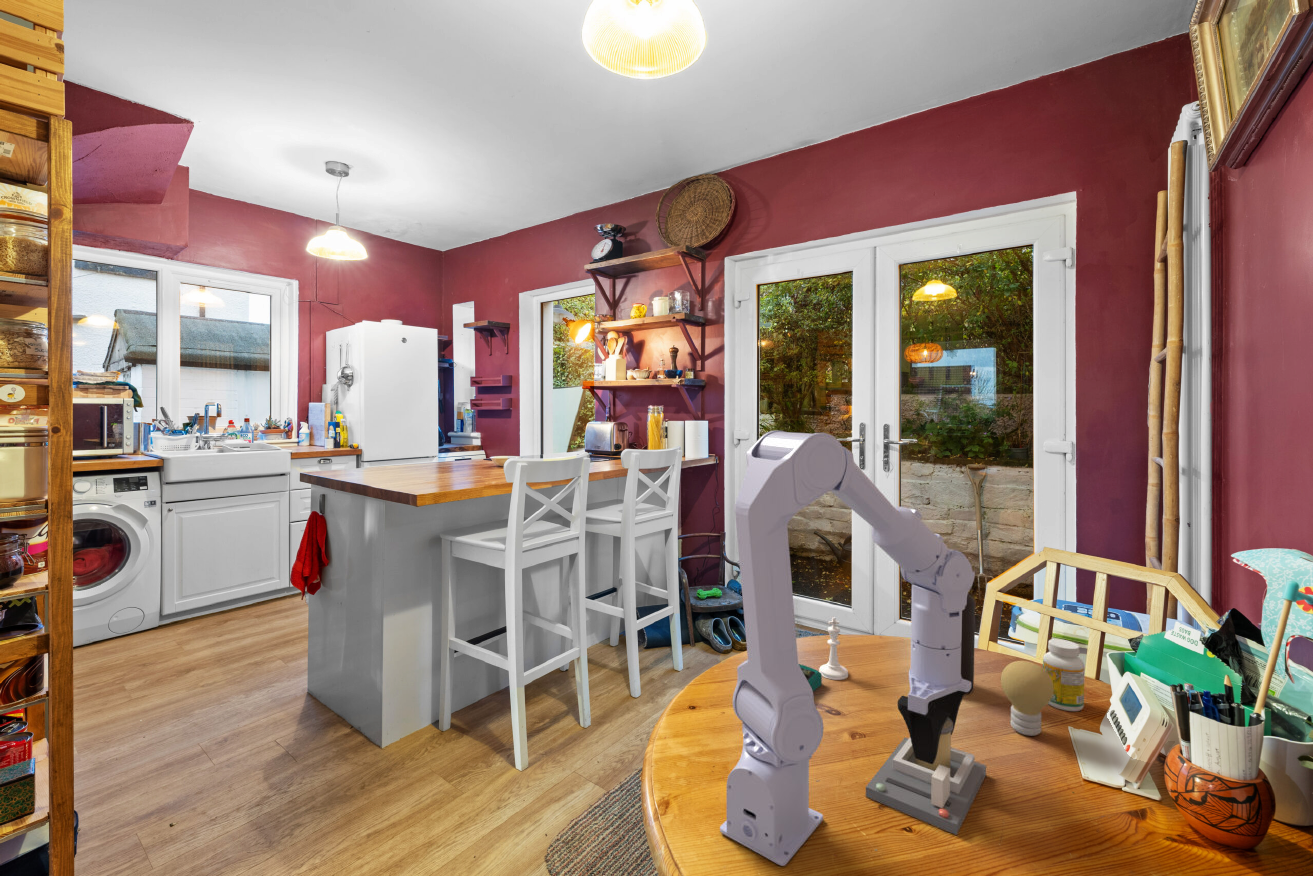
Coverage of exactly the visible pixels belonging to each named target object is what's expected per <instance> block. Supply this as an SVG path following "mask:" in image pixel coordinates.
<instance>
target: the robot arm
mask: <svg viewBox="0 0 1313 876" xmlns="http://www.w3.org/2000/svg"><path fill="white" fill-rule="evenodd" d="M745 454H746V467H747V468H746V471H745V474H744V477H743V479H742V483H741V486H740V489H739V492H738V494H737V498H736V501H735V504H734V505H735V506H734V507H735V508H734V513H735V514H734V515H735V516H734V518H735V524H736V525H735V526H736V539H737V549H738V558H739V559H738V561H739V563H738V564H739V570H740V571H739V572H740V584H741V585H740V586H741V595H742V596H741V597H742V608H743V619H744V628H745V629H744V630H745V640H746V641H745V642H746V651H747V652H746V654H747V659H746V660H744V661H743V662H741V663H740V664H739V665H738V666H737V668H736V672H737V680H736V686H735V689H734V690H733V694H732V695H733V696H732V708H733V711H734V714H735V716H736V717H737V718H738V719H739V720H740V721H741V722H742V723H741V725H742V735H743V738H742V742H743V743H742V751H741V755H740V758H739V760H738V762H737V763H736V765H735V766H734V768H733V769H732V770H731V771H730V773H728V776H727V781H726V820H725V821H724V822H723V823H722V824H721V825H720V826H719V831H720V833H721V834H722V835H724V836H726V837H728V838H730V839H732V840H734V841H735V842H737V843H739V844H741V845H742V846H744V847H746V848H749V850H752V851H754V852H755V853H757V854H759V855H761V856H763V857H764V858H766V859H768V860H770V861H771V862H773V863H775V864H777V865H779V866H782V867H783V866H786V865H787V864H788V863H789V862H790V860H791V859H792V858H793V857H794V855H795V854H796V853H797V852H798V850H799V849H800V848H801V847H802V846H803V845H804V843H805V842H806V841H807V840H808V839H809V837H810V836H811V835H813V832H814V831H815V830H816V828H817V827H819V825H820V824H821V823H822V822H823V820H824V815H823V814H822V813H821V812H818V811H817V810H814V809H812V808H810V807H809V801H810V792H809V791H810V787H809V786H810V760H811V759H812V757H813V756H814V754H815V752H816V751H817V750H818V748H819V746H820V745H821V742H822V739H823V737H824V727H825V726H824V721H823V720H824V719H823V717H822V716H821V714H820V712H819V710H818V709H817V706H816V704H815V699H814V691H813V690H812V688H811V686H810V684H809V683H808V681H807V679H806V677H805V675H804V673H803V672H802V670H801V668H800V666H799V664H800V663H799V657H798V645H797V633H796V630H797V629H796V620H795V607H794V597H793V595H794V594H793V593H794V592H793V583H792V579H793V578H792V570H791V569H792V567H791V556H790V555H791V554H790V545H789V544H790V543H789V542H790V541H789V530H788V525H789V523H790V521H791V520H792V519H793V518H794V516H796V514H797V513H798V512H800V511H801V510H802V509H805V508H807V506H810V505H811V504H812V503H814V502H816V500H818V499H820V498H821V497H823V496H825V495H826V494H827V493H830V492H831V493H832V495H834V496H835V497H837V498H838V499H839V500H840V501H841V502H842V503H843V504H845V505H846V506H847V507H849V508H850V509H851V511H853V512H855V514H857V515H858V516H859V517H860V518H862V519H863V520H864V521H865V522H866V523H868V525H870V526H871V538H872V541H873V542H874V543H875V544H876V545H877V546H878V547H879V548H881V550H882V551H884V552H885V554H886V555H888V556H889V557H890V558H891V559H892V560H893V561H894V562H895V563H896V564H897V565H898V566H899V567H900V568H899V570H900V573H901V574H900V575H901V576H902V577H901V578H903V580H904V581H905V582H908V583H910V584H911V608H910V609H911V611H910V613H911V614H910V616H911V617H910V619H911V622H910V623H911V624H910V668H909V670H908V682H909V692H908V694H907V696H906V695H901V696H900V697H899V698H898V699H897V710H898V712H899V713H900V715H901V716H902V718H903V720H904V723H905V724H906V728H907V730H908V733H909V738H911V743H912V747H913V751H914V755H915V758H916V759H918V760H921V761H924V762H927V763H929V764H933V763H934V761H935V759H936V756H937V751H938V745H939V739H940V735H941V731H942V728H943V726H944V724H945V722H946V720H947V718H950V719H951V720H952V722H953V730H952V731H951V736H952V735H953V732H954V731H955V726H956V722H957V719H958V718H957V717H958V715H959V710H960V706H961V704H962V701H963V699H964V696H965V695H966V694H965V693H966V692H968V691H970V689H971V682H970V681H968V680H966V679H963V678H962V677H961V637H962V610H964V609H965V605H967V594H968V593H969V591H970V590H971V588H972V587H973V585H974V584H973V583H974V581H975V575H976V572H975V571H973V569H972V564H971V562H970V561H969V560H968V558H967V557H966V555H965V554H964V553H963V552H962V551H960V550H957V549H954V548H953V549H952V548H948V547H947V545H946V544H945V542H944V538H943V536H942V535H941V534H939V533H935V532H933V531H932V530H931V528H929V526H928V525H926V524H925V522H924V521H922V520H921V519H922V517H923V514H922V513H921V512H920V511H919V510H917V509H914V508H909V507H905V506H894V505H893V504H892V502H890V500H888V498H887V497H886V496H885V495H884V494H883V493H882V492H881V490H879V488H878V487H877V486H876V485H875V484H874V482H873V481H872V480H870V478H869V477H868V476H867V475H866V474H865V472H863V470H862V469H861V468H860V467H859V466H858V464H857V463H856V462H855V459H854V453H853V452H852V451H850V449H848V448H847V447H844V446H843V444H842V443H841V442H840V440H838V438H836V437H835V436H833V435H831V434H830V433H826V432H815V433H806V432H787V431H785V430H784V431H783V430H777V429H776V430H775V429H774V430H771V431H768V432H765V433H764V434H763V435H762V436H760V437H759V439H758V440H756V442H755V443H754V444H753V445H752V446H751V447H750V448H749V449H748V450H747V451H746V453H745Z"/></svg>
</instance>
